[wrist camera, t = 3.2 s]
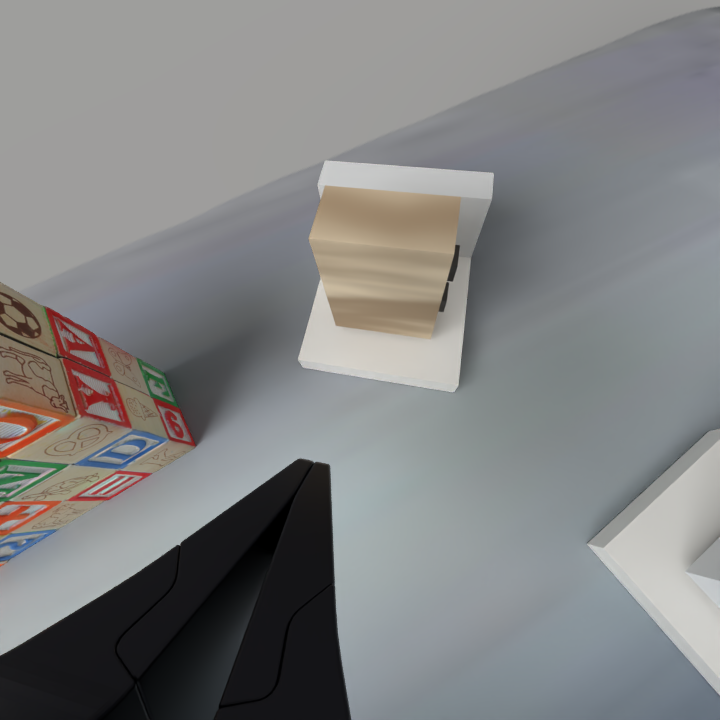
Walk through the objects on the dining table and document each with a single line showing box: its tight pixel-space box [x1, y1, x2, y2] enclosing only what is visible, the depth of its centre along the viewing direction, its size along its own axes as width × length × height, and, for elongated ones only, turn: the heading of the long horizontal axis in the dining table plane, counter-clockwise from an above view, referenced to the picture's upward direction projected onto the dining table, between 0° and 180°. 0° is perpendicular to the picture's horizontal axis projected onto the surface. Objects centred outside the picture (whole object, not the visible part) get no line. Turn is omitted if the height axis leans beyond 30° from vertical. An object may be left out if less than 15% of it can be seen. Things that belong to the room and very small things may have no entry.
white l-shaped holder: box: [298, 161, 494, 393], centre depth 21 cm, size 12×10×6 cm
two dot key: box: [309, 185, 461, 339], centre depth 18 cm, size 3×6×8 cm, turn 79°
